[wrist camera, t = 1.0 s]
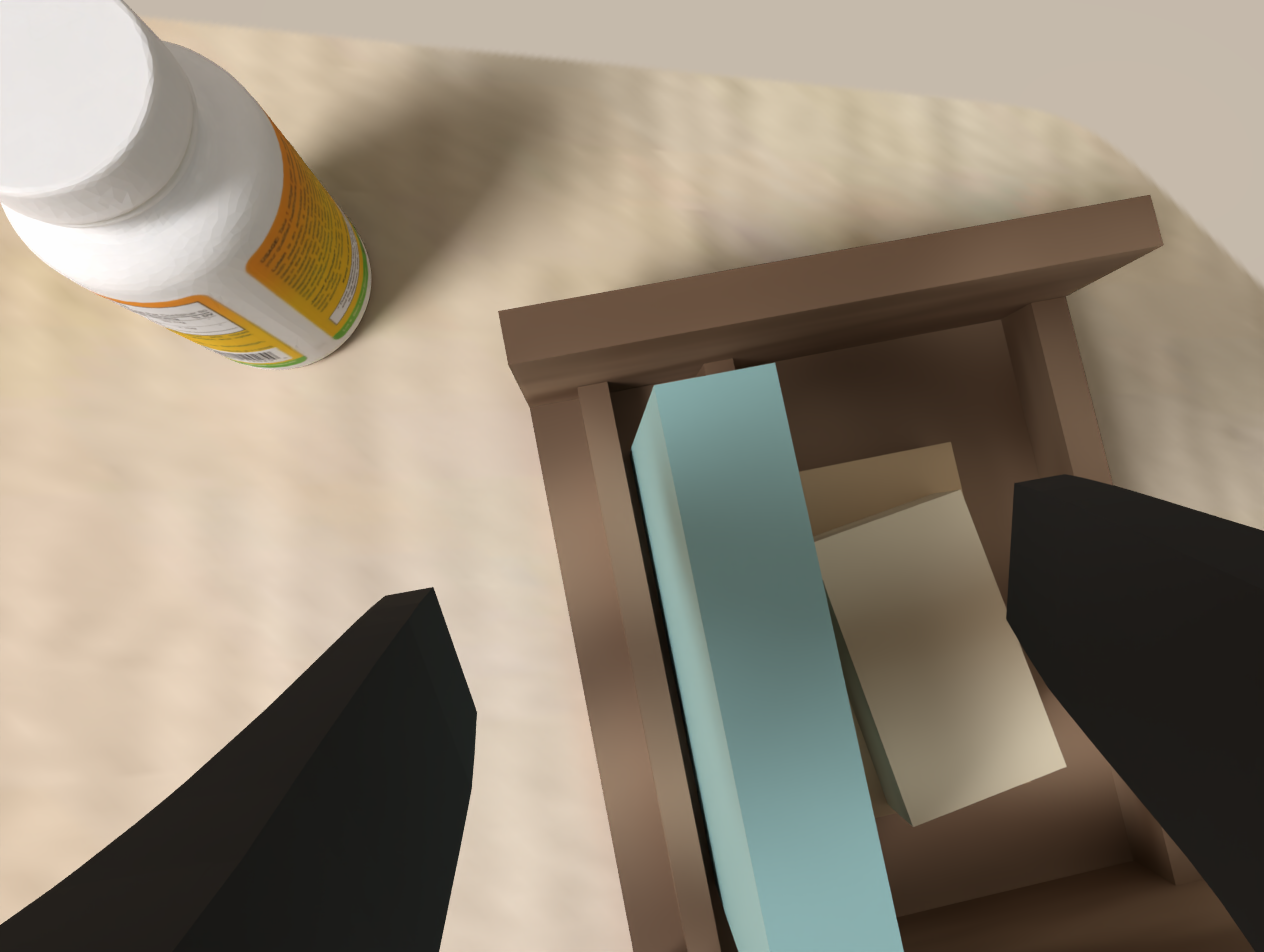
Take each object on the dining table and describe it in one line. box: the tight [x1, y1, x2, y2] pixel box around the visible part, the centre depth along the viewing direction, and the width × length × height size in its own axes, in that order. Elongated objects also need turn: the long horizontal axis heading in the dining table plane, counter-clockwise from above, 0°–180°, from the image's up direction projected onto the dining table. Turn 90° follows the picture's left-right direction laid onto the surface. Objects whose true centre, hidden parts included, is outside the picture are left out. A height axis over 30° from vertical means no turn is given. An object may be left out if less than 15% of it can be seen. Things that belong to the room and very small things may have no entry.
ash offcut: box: [813, 490, 1067, 827], centre depth 18 cm, size 7×4×2 cm, turn 19°
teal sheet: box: [629, 363, 904, 952], centre depth 16 cm, size 12×2×9 cm, turn 11°
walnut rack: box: [498, 195, 1255, 952], centre depth 19 cm, size 18×15×6 cm
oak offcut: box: [799, 442, 1031, 818], centre depth 20 cm, size 9×5×2 cm, turn 11°
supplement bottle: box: [0, 0, 371, 370], centre depth 17 cm, size 5×5×10 cm
